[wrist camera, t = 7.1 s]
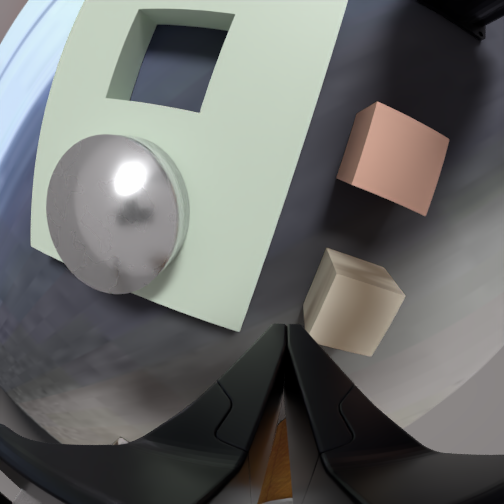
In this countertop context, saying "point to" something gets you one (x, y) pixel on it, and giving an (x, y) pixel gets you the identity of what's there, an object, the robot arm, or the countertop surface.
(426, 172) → the terracotta cube
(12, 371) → the countertop surface
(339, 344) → the birch cube
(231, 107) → the pocket deck
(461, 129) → the countertop surface
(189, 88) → the countertop surface
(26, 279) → the countertop surface
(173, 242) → the metal puck
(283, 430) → the disposable coffee cup
